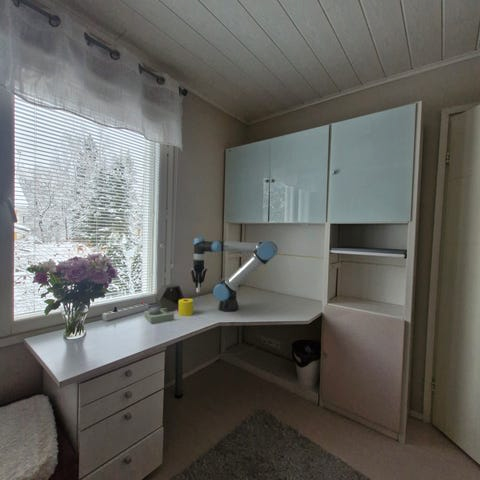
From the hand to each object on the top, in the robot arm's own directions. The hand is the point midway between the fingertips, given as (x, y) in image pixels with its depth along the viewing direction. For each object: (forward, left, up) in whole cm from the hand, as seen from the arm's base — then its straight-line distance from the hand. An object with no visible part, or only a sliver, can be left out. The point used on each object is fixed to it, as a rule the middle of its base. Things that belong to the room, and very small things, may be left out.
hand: (198, 292), depth 183 cm
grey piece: (+28, 0, -14) cm, 31 cm away
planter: (+16, -15, -14) cm, 26 cm away
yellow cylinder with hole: (+9, 0, -14) cm, 17 cm away
